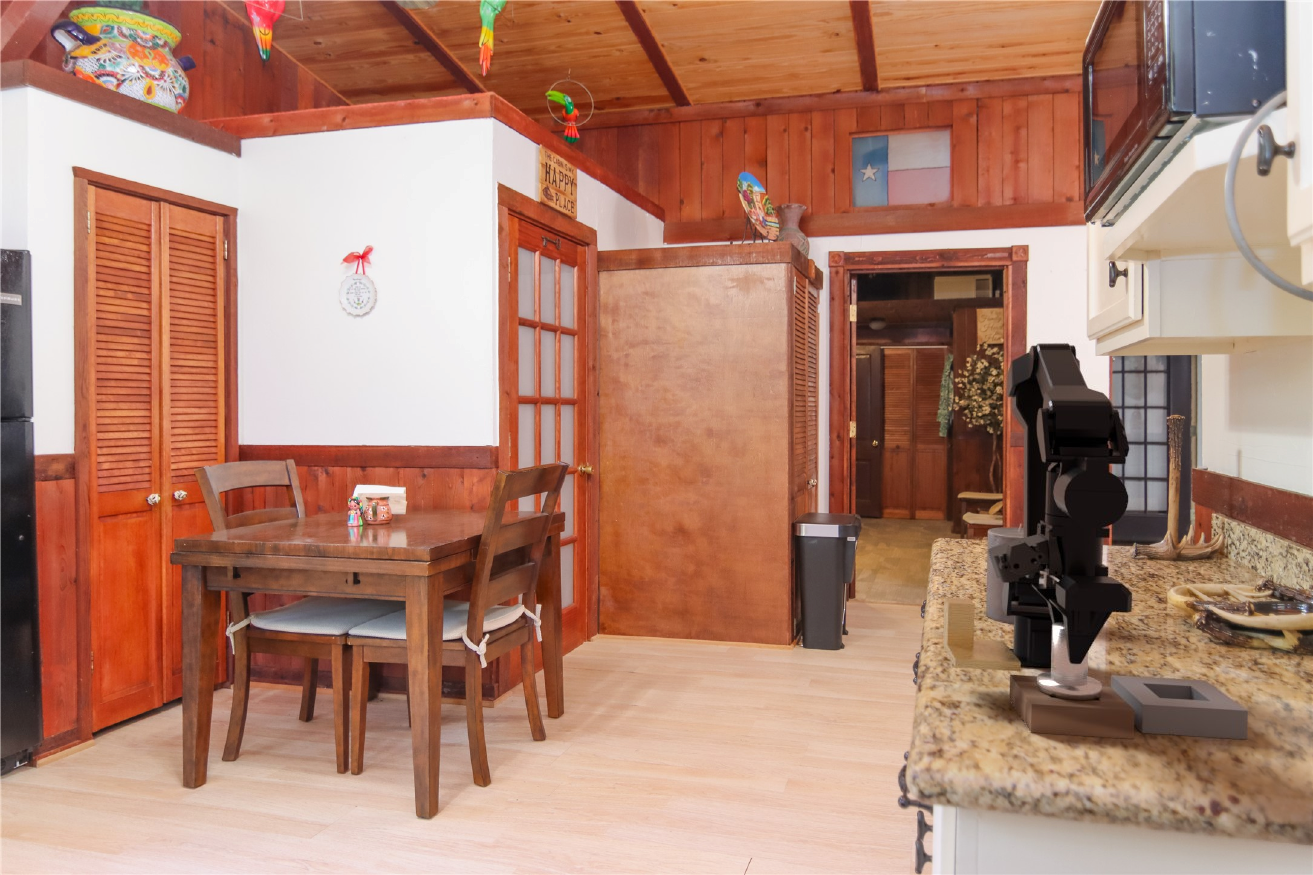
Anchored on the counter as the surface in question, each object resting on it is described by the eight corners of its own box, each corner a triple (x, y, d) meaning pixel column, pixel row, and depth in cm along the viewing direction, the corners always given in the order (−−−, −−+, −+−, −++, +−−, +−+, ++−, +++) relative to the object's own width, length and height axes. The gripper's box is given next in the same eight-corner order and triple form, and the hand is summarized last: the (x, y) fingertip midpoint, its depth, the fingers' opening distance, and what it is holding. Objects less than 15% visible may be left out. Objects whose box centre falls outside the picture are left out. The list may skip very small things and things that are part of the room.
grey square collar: (1110, 700, 104) (1111, 674, 104) (1204, 706, 103) (1205, 680, 103) (1142, 732, 95) (1143, 704, 94) (1246, 739, 93) (1247, 710, 93)
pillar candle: (1008, 607, 150) (1009, 517, 149) (1064, 619, 142) (1066, 524, 141) (973, 616, 144) (974, 522, 143) (1029, 629, 136) (1031, 530, 136)
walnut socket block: (1009, 700, 104) (1010, 674, 104) (1102, 705, 103) (1102, 679, 103) (1030, 732, 94) (1031, 703, 94) (1133, 738, 93) (1134, 710, 93)
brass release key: (943, 645, 111) (944, 597, 111) (1003, 649, 110) (1004, 600, 110) (955, 667, 102) (956, 614, 102) (1020, 671, 101) (1022, 618, 101)
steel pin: (1028, 705, 102) (1030, 618, 102) (1088, 708, 101) (1090, 620, 101) (1046, 726, 96) (1048, 633, 95) (1110, 729, 95) (1112, 635, 95)
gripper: (979, 502, 108) (976, 632, 109) (1015, 524, 90) (1011, 680, 90) (1078, 505, 106) (1074, 636, 107) (1136, 528, 88) (1130, 687, 89)
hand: (1069, 658), depth 98 cm, fingers closed on steel pin, 4 cm apart
